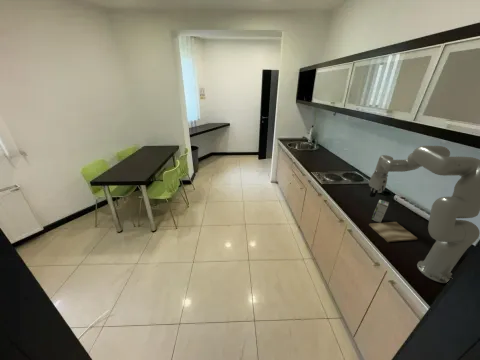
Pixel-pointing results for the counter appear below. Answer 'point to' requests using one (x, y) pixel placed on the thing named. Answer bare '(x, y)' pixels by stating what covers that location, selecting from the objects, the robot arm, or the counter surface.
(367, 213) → the counter surface
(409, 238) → the oak board
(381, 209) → the syrup box
